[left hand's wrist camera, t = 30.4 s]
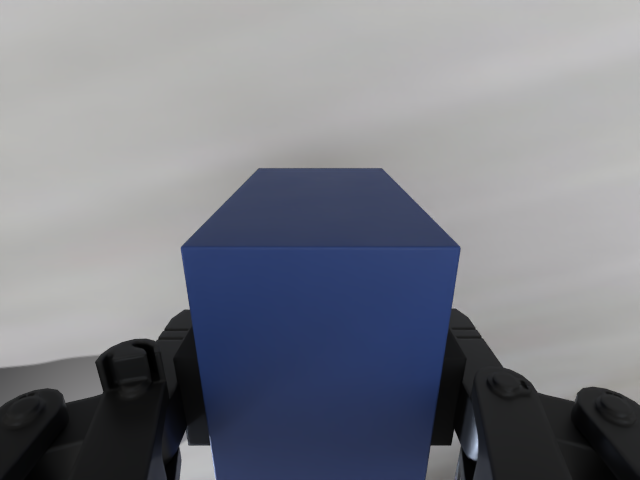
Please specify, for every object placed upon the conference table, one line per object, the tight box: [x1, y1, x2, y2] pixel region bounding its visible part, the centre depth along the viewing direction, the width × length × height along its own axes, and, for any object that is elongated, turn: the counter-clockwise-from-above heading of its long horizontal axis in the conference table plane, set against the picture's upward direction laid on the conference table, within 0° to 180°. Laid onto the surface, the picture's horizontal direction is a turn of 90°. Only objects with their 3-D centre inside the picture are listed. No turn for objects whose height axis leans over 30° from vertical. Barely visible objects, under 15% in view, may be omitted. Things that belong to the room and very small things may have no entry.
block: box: [181, 168, 461, 480], centre depth 12 cm, size 8×5×9 cm, turn 0°
